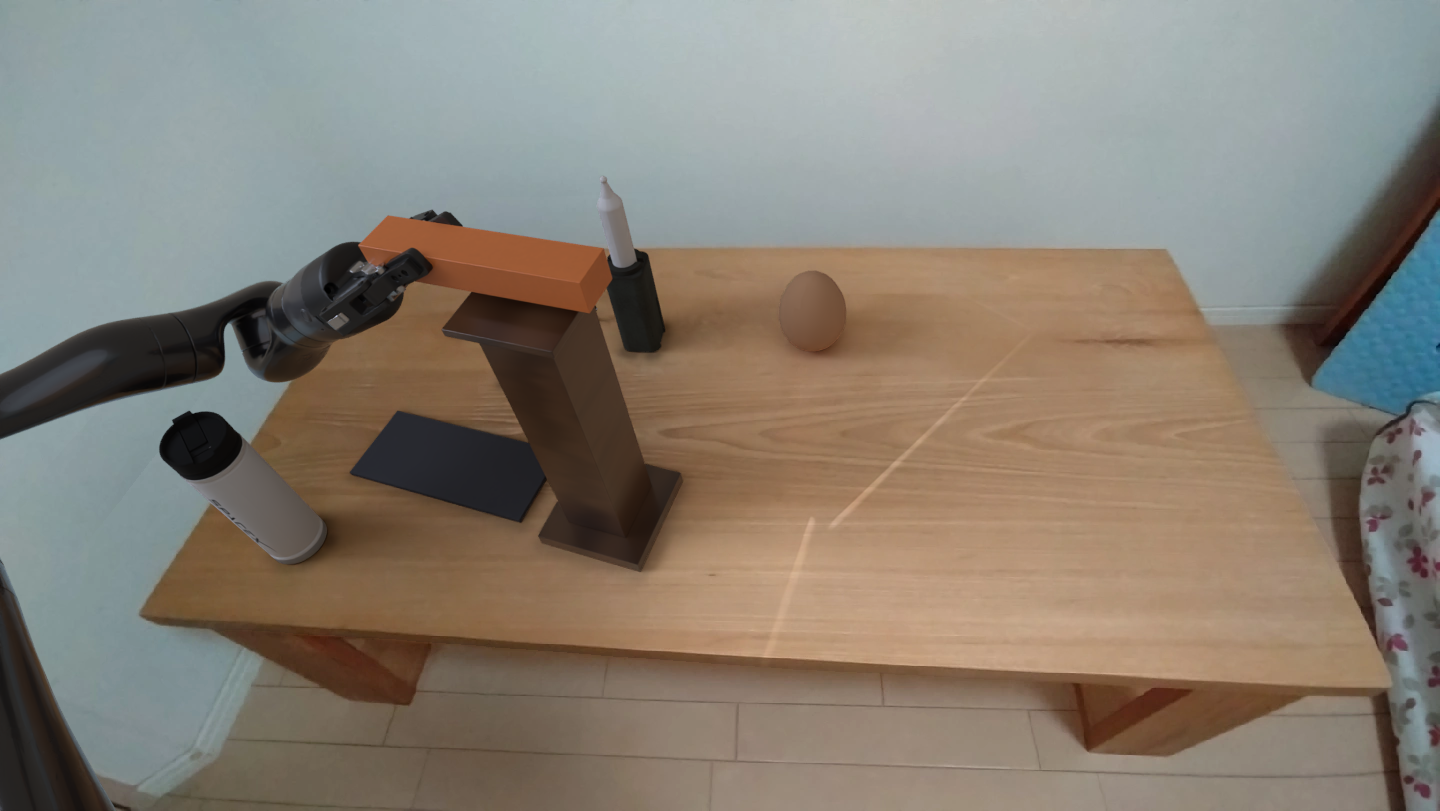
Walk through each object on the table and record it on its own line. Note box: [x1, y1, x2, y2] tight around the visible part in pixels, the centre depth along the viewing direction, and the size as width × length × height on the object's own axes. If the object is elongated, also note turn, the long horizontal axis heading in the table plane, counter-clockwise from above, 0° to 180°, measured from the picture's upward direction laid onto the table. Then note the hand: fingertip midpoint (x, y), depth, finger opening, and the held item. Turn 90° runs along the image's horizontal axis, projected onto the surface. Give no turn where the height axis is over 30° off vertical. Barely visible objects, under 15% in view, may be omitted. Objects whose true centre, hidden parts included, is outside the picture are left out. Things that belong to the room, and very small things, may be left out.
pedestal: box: [441, 292, 684, 573], centre depth 74 cm, size 12×12×32 cm
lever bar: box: [358, 214, 612, 313], centre depth 60 cm, size 20×4×3 cm, turn 70°
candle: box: [596, 175, 666, 353], centre depth 93 cm, size 5×5×25 cm
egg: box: [778, 270, 847, 352], centre depth 95 cm, size 8×8×11 cm
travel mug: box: [158, 410, 328, 565], centre depth 81 cm, size 6×7×20 cm
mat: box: [349, 410, 547, 524], centre depth 92 cm, size 24×10×1 cm, turn 70°
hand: (438, 241), depth 60 cm, fingers closed on lever bar, 4 cm apart
